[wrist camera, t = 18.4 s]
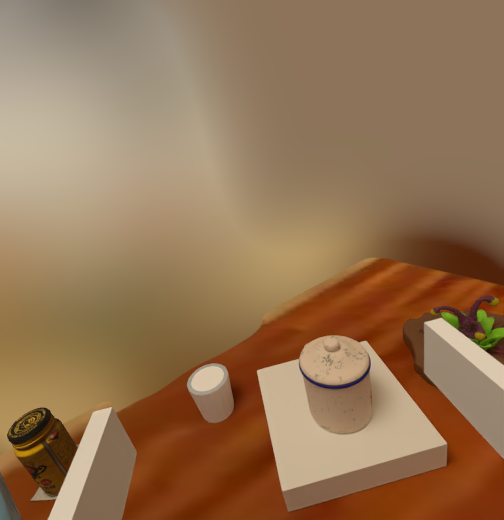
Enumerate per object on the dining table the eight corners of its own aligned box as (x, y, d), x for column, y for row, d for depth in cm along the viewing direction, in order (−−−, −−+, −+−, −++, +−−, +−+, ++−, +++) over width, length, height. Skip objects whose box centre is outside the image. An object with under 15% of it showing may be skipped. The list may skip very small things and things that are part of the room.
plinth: (288, 512, 37) (282, 491, 35) (261, 387, 55) (256, 370, 54) (446, 466, 37) (447, 443, 36) (367, 358, 56) (366, 340, 54)
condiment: (30, 501, 45) (-14, 446, 40) (66, 446, 53) (32, 395, 48) (75, 498, 44) (35, 441, 39) (105, 442, 52) (74, 389, 47)
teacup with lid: (390, 415, 41) (386, 345, 36) (333, 450, 38) (321, 379, 34) (334, 362, 51) (326, 303, 47) (287, 387, 49) (273, 327, 44)
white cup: (215, 388, 57) (205, 359, 55) (245, 399, 54) (235, 368, 51) (190, 418, 52) (178, 387, 50) (221, 432, 49) (210, 400, 46)
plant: (589, 405, 41) (608, 337, 36) (425, 402, 46) (425, 342, 42) (509, 316, 58) (516, 263, 54) (397, 321, 64) (395, 274, 60)
